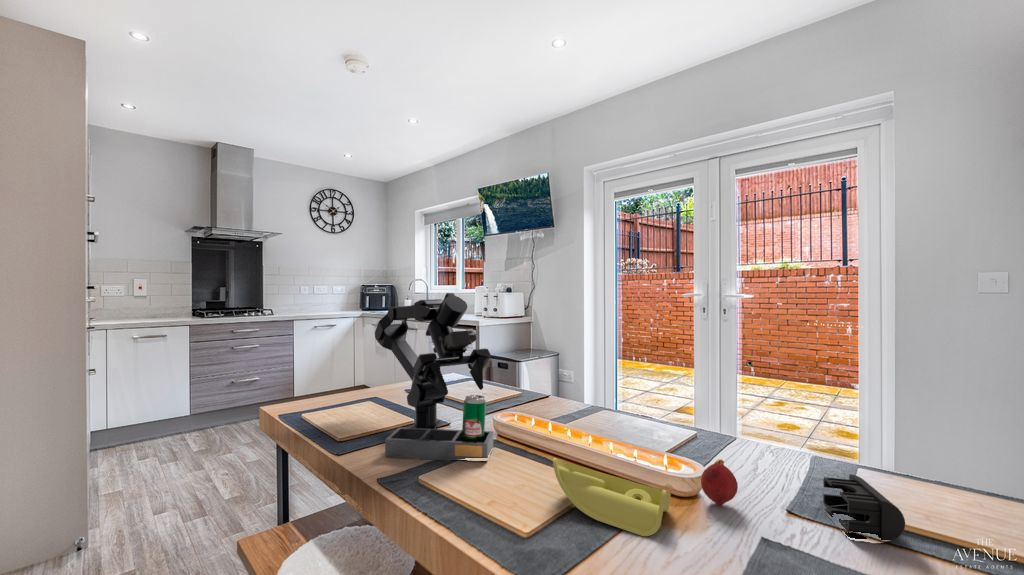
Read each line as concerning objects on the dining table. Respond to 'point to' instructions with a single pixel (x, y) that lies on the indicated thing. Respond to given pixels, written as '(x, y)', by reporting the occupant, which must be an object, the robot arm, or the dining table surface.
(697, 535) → the dining table surface
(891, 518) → the end cap
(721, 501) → the onion
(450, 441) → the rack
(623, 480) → the plastic component
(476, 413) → the soda can
